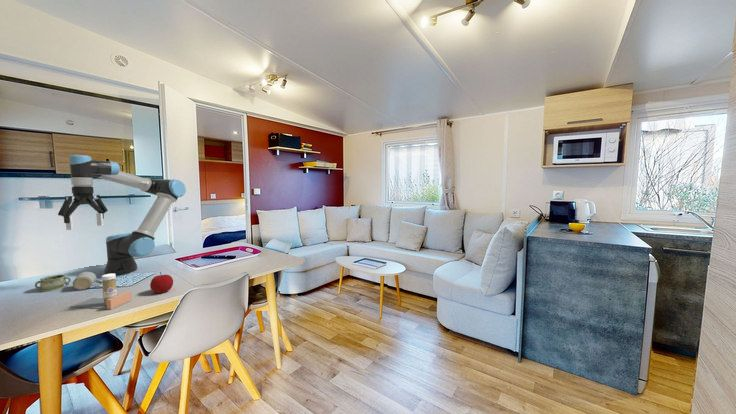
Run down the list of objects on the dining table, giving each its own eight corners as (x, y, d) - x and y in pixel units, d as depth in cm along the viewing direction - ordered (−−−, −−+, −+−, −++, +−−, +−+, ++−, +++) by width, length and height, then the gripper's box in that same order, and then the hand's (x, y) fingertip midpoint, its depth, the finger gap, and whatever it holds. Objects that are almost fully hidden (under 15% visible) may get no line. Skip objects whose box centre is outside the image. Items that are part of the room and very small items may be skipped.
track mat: (93, 298, 127) (92, 289, 127) (131, 300, 125) (130, 291, 125) (70, 306, 118) (69, 297, 118) (111, 309, 116) (110, 300, 116)
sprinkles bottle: (107, 306, 118) (105, 277, 117) (101, 304, 120) (99, 275, 119) (119, 302, 123) (117, 273, 121) (114, 300, 124) (112, 272, 123)
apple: (149, 296, 130) (148, 276, 129) (152, 290, 137) (151, 271, 137) (172, 292, 135) (171, 273, 134) (174, 286, 142) (173, 268, 141)
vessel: (34, 294, 130) (32, 282, 130) (36, 289, 136) (35, 277, 136) (70, 288, 139) (69, 276, 138) (71, 283, 145) (70, 272, 144)
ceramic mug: (72, 292, 134) (71, 277, 133) (76, 287, 140) (75, 272, 140) (101, 287, 140) (100, 273, 140) (104, 283, 147) (104, 269, 146)
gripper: (102, 185, 148) (105, 223, 150) (44, 186, 124) (48, 231, 125) (114, 185, 148) (117, 224, 149) (58, 186, 123) (62, 231, 125)
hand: (85, 227), depth 137 cm, fingers open, 13 cm apart
